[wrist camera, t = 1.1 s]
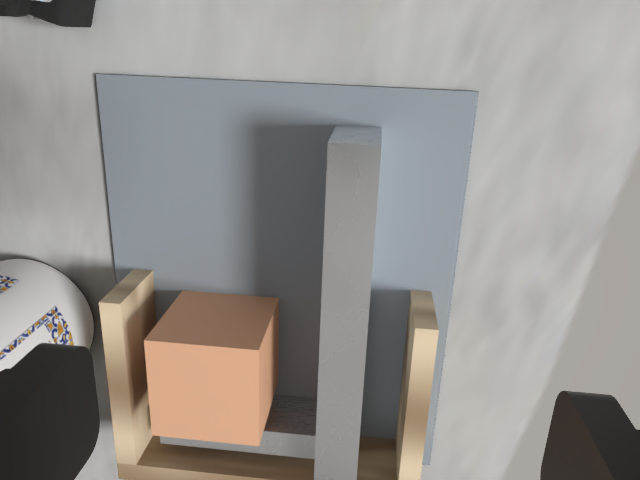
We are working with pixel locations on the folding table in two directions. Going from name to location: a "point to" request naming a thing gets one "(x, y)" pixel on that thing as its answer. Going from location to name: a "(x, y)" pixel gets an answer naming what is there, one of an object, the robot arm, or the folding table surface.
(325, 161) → the mat
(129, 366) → the stall
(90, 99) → the folding table surface
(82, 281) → the folding table surface
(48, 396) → the robot arm
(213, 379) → the block
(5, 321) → the bath foam
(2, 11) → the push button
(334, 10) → the folding table surface
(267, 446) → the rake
